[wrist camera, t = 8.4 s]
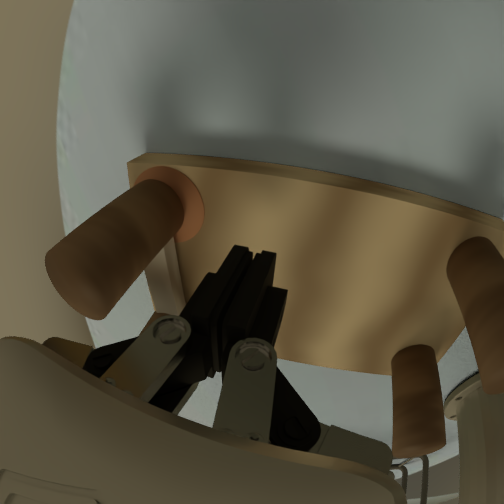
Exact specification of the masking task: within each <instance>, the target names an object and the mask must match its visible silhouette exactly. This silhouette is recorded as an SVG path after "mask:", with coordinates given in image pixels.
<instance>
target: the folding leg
mask: <svg viewBox="0 0 504 504" xmlns="http://www.w3.org/2000/svg"><path fill="white" fill-rule="evenodd" d="M183 221H184V209H183V205H182V203H181V200H180V198H179V197H178V195H177V194H176V192H175V191H174V190H173V189H172V188H171V187H170V186H168V185H167V184H165V183H164V182H162V181H159V180H155V179H147V180H143V181H141V182H139V183H138V184H136V185H135V186H133V187H132V188H130V189H129V190H127V191H126V192H125V193H123V194H122V195H120V196H119V197H117V198H116V199H114V200H113V201H112V202H110V203H109V204H107V205H106V206H105V207H103V208H102V209H101V210H99V211H98V212H97V213H95V214H94V215H93V216H91V217H90V218H89V219H87V220H86V221H85V222H83V223H82V224H81V225H80V226H78V227H77V228H76V229H74V230H73V231H72V232H71V233H69V234H68V235H67V236H66V237H65V238H63V239H62V240H61V241H60V242H59V243H57V244H56V245H55V246H54V247H53V248H52V249H51V250H49V251H48V252H47V254H46V256H45V266H46V270H47V273H48V276H49V278H50V280H51V282H52V284H53V285H54V287H55V289H56V290H57V291H58V293H59V294H60V295H61V297H62V298H63V299H64V300H65V301H66V302H67V303H68V304H69V305H70V306H71V307H72V308H73V309H75V310H76V311H77V312H79V313H80V314H82V315H84V316H85V317H88V318H90V319H93V320H102V319H104V318H105V317H106V316H107V315H108V313H109V312H110V311H111V310H112V308H113V307H114V306H115V304H116V303H117V302H118V301H119V300H120V298H121V297H122V296H123V295H124V293H125V292H126V291H127V290H128V288H129V287H130V286H131V285H132V284H133V282H134V281H135V280H136V279H137V278H138V276H139V275H140V274H141V273H142V272H143V270H144V271H145V275H146V278H147V282H148V285H149V289H150V292H151V296H152V299H153V303H154V306H155V309H156V311H155V312H154V314H153V315H152V316H151V318H150V319H149V321H148V322H147V324H146V325H145V327H144V328H143V330H142V331H141V333H140V335H141V334H142V333H143V332H144V331H145V330H146V328H147V327H148V326H149V325H150V324H151V323H152V322H153V321H155V320H156V319H157V318H160V317H162V316H166V315H176V316H179V315H180V313H181V312H182V310H183V308H184V307H185V305H186V303H185V298H184V293H183V288H182V282H181V277H180V272H179V266H178V261H177V255H176V249H175V243H174V237H173V236H174V235H175V234H176V233H177V232H178V231H179V229H180V228H181V226H182V224H183ZM140 335H139V336H140ZM139 336H138V337H139Z"/></svg>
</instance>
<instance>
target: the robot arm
mask: <svg viewBox="0 0 504 504" xmlns="http://www.w3.org/2000/svg"><path fill="white" fill-rule="evenodd" d="M276 256H277V253H275V252H270V251H265V250H262V252H261V253H256V254H255V256H254V258H253V252H251V251H249V248H248V247H245V246H240V245H234V246H233V247H232V249H231V250H230V252H229V254H228V255H227V257H226V258H225V260H224V261H223V263H222V265H221V266H220V268H219V269H218V271H217V272H216V273H212V272H208V273H207V274H206V275H205V277H204V278H203V280H202V281H201V283H200V284H199V286H198V287H197V289H196V290H195V292H194V293H193V295H192V296H191V298H190V299H189V301H188V302H187V304H186V305H185V307H184V308H183V310H182V312H181V313H180V315H179V316H176V315H166V316H162V317H160V318H157V319H156V320H155V321H153V322H152V323H151V324H150V325H149V326H148V327H147V328H146V330H145V331H144V332H143V333H142V334H141V335H140V336H139V337H135V338H131V339H128V340H124V341H121V342H117V343H113V344H110V345H106V346H102V347H99V348H97V349H94V348H93V346H89V345H85V344H81V343H77V342H74V341H70V340H66V339H62V338H59V337H52V338H48V339H47V340H46V341H44V343H43V344H40V343H38V342H36V341H34V340H31V339H27V338H23V337H16V336H13V337H12V336H9V337H4V338H1V339H0V504H407V499H406V494H405V492H404V489H403V488H402V486H401V485H400V484H399V483H398V482H397V481H396V480H394V479H393V478H391V477H390V476H388V473H389V470H390V467H391V464H392V460H393V454H392V451H391V449H390V447H389V446H388V445H387V444H385V443H383V442H381V441H378V440H375V439H372V438H369V437H365V436H362V435H359V434H357V433H354V432H351V431H348V430H345V429H342V428H340V427H337V426H334V425H331V426H328V425H325V424H323V423H320V422H319V421H318V419H317V418H316V416H315V415H314V414H313V413H312V411H311V410H310V409H309V408H308V406H307V405H306V404H305V402H304V401H303V400H302V399H301V397H300V396H299V395H298V393H297V392H296V391H295V390H294V388H293V387H292V386H291V384H290V383H289V382H288V380H287V379H286V378H285V376H284V375H283V374H282V372H281V371H280V370H279V368H278V367H277V353H276V351H275V349H274V346H275V343H276V339H277V336H278V332H279V329H280V326H281V322H282V318H283V314H284V310H285V305H286V300H287V294H288V290H287V289H282V288H278V287H273V280H274V272H275V264H276ZM216 371H217V372H221V371H222V388H221V393H220V397H219V401H218V406H217V410H216V414H215V419H214V423H213V427H212V428H211V427H208V426H205V425H202V424H199V423H196V422H193V421H191V420H188V419H185V418H183V417H180V416H178V413H179V412H180V411H181V409H182V408H183V406H184V405H185V404H186V402H187V401H188V399H189V398H190V397H191V395H192V394H193V392H194V391H195V390H196V388H197V386H198V384H199V382H200V381H203V380H205V379H206V378H207V376H208V377H211V378H213V377H214V375H215V373H216ZM443 408H444V415H445V417H446V418H448V419H450V420H456V421H457V427H458V440H459V462H460V463H459V464H460V480H459V503H458V504H504V393H500V394H495V395H490V394H486V393H485V392H484V391H483V387H482V382H481V378H480V374H479V373H478V374H476V375H474V376H473V377H471V378H470V379H468V380H467V381H465V382H464V383H463V384H461V385H460V386H459V387H457V388H456V389H455V390H454V391H453V392H452V393H451V394H450V395H449V396H448V398H447V399H446V401H445V402H444V406H443Z"/></svg>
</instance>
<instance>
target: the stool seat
mask: <svg viewBox="0 0 504 504" xmlns="http://www.w3.org/2000/svg"><path fill="white" fill-rule="evenodd" d="M127 167H128V176H129V184H130V188H132V187H133V186H135V185H136V184H138V183H139V182H141V181H143V180H147V179H155V180H159V181H162V182H164V183H165V184H167V185H168V186H170V187H171V188H172V189H173V190H174V191H175V192H176V194H177V195H178V197H179V198H180V200H181V203H182V205H183V209H184V221H183V224H182V226H181V228H180V229H179V231H178V232H177V233H176V234H175V235H174V236H173V237H174V243H175V249H176V255H177V261H178V266H179V272H180V277H181V282H182V288H183V293H184V298H185V303H186V304H187V302H188V301H189V299H190V298H191V296H192V295H193V293H194V292H195V290H196V289H197V287H198V286H199V284H200V283H201V281H202V280H203V278H204V277H205V275H206V274H207V273H208V272H212V273H216V272H217V271H218V269H219V268H220V266H221V265H222V263H223V261H224V260H225V258H226V257H227V255H228V254H229V252H230V250H231V249H232V247H233V246H234V245H240V246H245V247H248V248H249V251H251V252H253V258H254V256H255V254H256V253H261V252H262V250H265V251H270V252H275V253H277V256H276V264H275V272H274V280H273V287H278V288H282V289H287V290H288V294H287V300H286V305H285V310H284V314H283V318H282V322H281V326H280V329H279V332H278V336H277V339H276V343H275V346H274V349H275V351H276V353H277V358H279V359H284V360H289V361H294V362H300V363H305V364H311V365H316V366H322V367H328V368H335V369H341V370H348V371H356V372H363V373H372V374H381V375H391V376H392V392H393V440H392V454H393V457H396V458H412V457H418V456H423V455H426V454H430V453H432V452H435V451H437V450H439V449H441V448H443V447H444V446H445V445H446V433H445V420H444V409H443V400H442V392H441V385H440V378H439V372H438V366H437V363H438V362H439V360H440V359H441V358H442V357H443V355H444V354H445V353H446V352H447V350H448V349H449V348H450V347H451V345H452V344H453V343H454V341H455V340H456V339H457V337H458V336H459V335H460V333H461V332H462V330H463V329H464V328H465V326H466V328H467V331H468V334H469V337H470V340H471V344H472V347H473V351H474V354H475V358H476V362H477V365H478V369H479V374H480V378H481V382H482V387H483V391H484V392H485V393H486V394H490V395H495V394H500V393H504V221H503V220H502V219H499V218H497V217H494V216H491V215H488V214H485V213H483V212H480V211H477V210H474V209H471V208H468V207H465V206H462V205H459V204H455V203H452V202H449V201H446V200H442V199H439V198H436V197H432V196H429V195H425V194H421V193H418V192H414V191H410V190H406V189H402V188H399V187H394V186H390V185H386V184H382V183H378V182H373V181H369V180H364V179H360V178H355V177H350V176H345V175H340V174H335V173H329V172H324V171H318V170H312V169H306V168H300V167H294V166H287V165H280V164H273V163H266V162H258V161H250V160H241V159H231V158H221V157H210V156H197V155H182V154H163V153H145V154H143V155H141V156H139V157H137V158H135V159H133V160H131V161H129V162H127ZM148 286H149V285H148ZM149 290H150V289H149ZM150 294H151V292H150ZM151 298H152V296H151ZM152 302H153V299H152ZM153 306H154V303H153ZM154 310H155V311H156V309H155V306H154Z"/></svg>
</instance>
